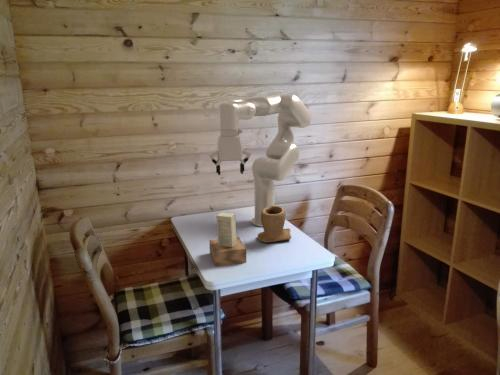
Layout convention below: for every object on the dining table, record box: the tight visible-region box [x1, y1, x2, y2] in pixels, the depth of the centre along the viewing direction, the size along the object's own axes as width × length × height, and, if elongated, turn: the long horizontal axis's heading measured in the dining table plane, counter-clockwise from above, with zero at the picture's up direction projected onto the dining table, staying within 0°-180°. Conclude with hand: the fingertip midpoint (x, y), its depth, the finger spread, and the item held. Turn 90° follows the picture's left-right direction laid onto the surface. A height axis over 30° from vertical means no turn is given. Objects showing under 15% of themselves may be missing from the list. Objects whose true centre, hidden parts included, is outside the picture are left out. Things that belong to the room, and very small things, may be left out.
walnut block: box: [208, 236, 247, 267], centre depth 157 cm, size 12×12×6 cm
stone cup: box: [257, 205, 292, 243], centre depth 172 cm, size 15×12×15 cm
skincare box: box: [216, 212, 237, 247], centre depth 154 cm, size 6×4×12 cm
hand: (230, 173), depth 171 cm, fingers open, 9 cm apart
